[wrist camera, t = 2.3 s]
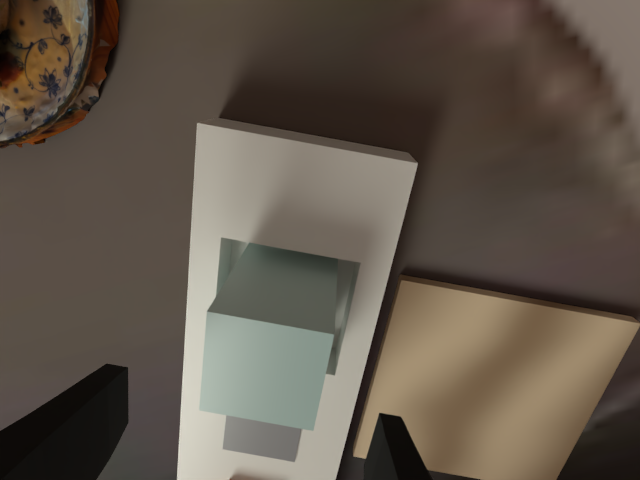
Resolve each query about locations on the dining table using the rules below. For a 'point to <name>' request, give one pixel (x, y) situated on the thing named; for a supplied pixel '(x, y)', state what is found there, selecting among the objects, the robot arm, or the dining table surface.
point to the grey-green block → (270, 337)
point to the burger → (51, 64)
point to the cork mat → (491, 377)
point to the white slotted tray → (298, 235)
